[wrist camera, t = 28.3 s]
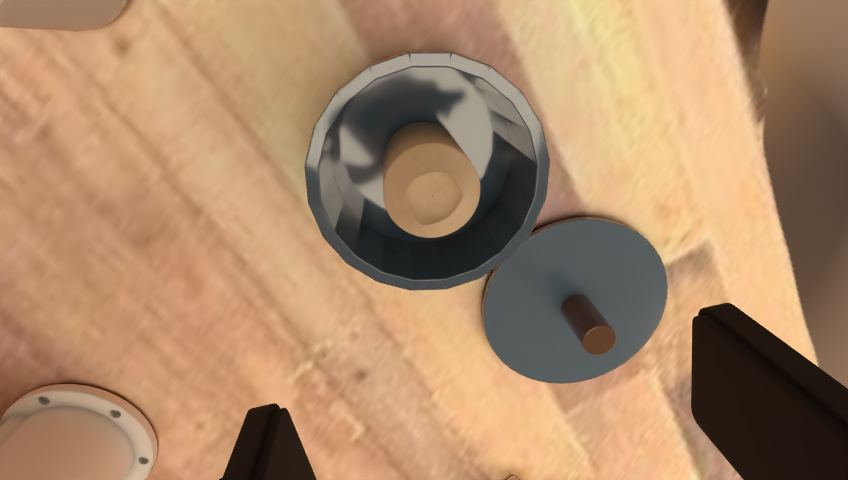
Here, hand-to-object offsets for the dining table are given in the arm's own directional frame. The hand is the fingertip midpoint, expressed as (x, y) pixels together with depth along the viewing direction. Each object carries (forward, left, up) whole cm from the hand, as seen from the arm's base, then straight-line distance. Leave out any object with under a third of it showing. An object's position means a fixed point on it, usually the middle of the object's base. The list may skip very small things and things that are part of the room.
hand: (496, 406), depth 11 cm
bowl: (0, 0, -26) cm, 26 cm away
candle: (0, 0, -26) cm, 26 cm away
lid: (+16, -8, -26) cm, 31 cm away
